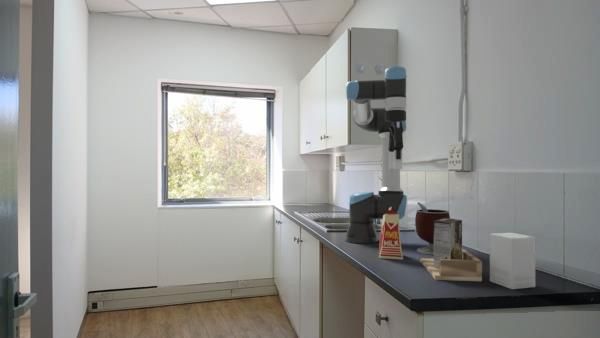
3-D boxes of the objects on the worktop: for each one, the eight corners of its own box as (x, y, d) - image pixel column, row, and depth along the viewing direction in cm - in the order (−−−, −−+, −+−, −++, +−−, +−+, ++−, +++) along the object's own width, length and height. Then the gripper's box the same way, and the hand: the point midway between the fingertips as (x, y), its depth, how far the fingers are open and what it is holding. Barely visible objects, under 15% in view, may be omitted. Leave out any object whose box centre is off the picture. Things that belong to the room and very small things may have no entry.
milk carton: (403, 259, 147) (403, 207, 147) (378, 258, 149) (378, 206, 149) (401, 254, 156) (402, 205, 156) (378, 253, 158) (378, 204, 157)
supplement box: (536, 287, 113) (537, 236, 113) (512, 290, 110) (512, 238, 110) (511, 278, 121) (511, 231, 121) (488, 281, 119) (488, 233, 119)
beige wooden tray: (420, 261, 144) (420, 244, 144) (458, 262, 143) (458, 245, 143) (435, 279, 120) (435, 260, 120) (482, 281, 119) (482, 261, 119)
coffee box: (444, 262, 137) (444, 217, 137) (462, 266, 132) (462, 219, 132) (432, 267, 130) (432, 220, 130) (451, 271, 126) (451, 222, 126)
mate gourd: (457, 253, 157) (457, 204, 157) (432, 256, 151) (432, 206, 151) (429, 246, 171) (429, 201, 171) (405, 249, 165) (405, 202, 165)
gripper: (381, 115, 152) (381, 168, 152) (389, 105, 127) (388, 169, 127) (400, 115, 151) (400, 168, 151) (412, 104, 126) (412, 169, 126)
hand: (395, 169), depth 139 cm, fingers open, 13 cm apart
